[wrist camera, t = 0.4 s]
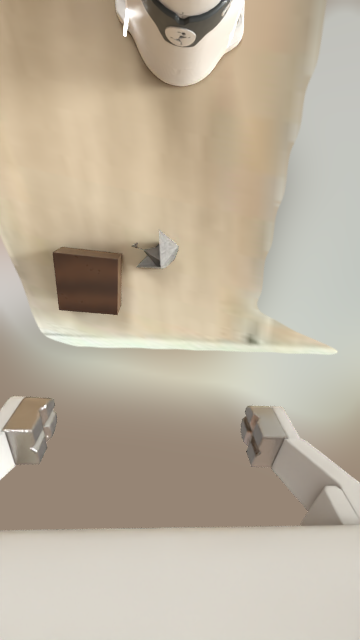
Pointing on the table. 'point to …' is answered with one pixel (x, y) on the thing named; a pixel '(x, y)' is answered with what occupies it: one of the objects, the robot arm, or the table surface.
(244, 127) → the table surface
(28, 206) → the table surface
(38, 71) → the table surface
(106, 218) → the table surface
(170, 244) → the paper boat
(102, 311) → the walnut block
